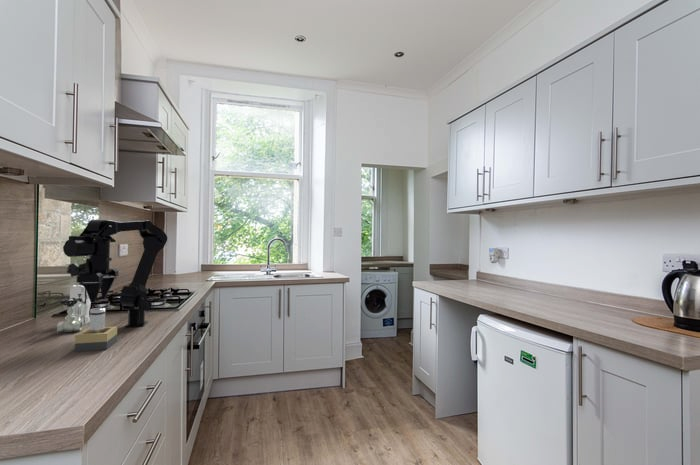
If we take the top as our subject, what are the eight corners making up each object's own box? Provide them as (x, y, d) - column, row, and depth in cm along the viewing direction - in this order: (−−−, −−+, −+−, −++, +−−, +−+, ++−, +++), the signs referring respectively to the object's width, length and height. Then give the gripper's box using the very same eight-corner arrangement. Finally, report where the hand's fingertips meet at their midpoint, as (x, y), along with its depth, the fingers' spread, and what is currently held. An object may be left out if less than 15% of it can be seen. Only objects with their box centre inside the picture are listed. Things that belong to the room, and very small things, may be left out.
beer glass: (65, 323, 133) (66, 286, 133) (86, 320, 139) (86, 284, 139) (74, 326, 130) (75, 287, 130) (94, 322, 136) (95, 285, 136)
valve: (62, 330, 124) (63, 298, 125) (84, 328, 127) (84, 297, 127) (54, 335, 118) (55, 301, 118) (77, 333, 121) (78, 300, 121)
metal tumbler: (89, 345, 108) (90, 308, 108) (105, 343, 111) (106, 307, 111) (88, 349, 105) (89, 310, 105) (104, 346, 107) (105, 309, 107)
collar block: (87, 343, 111) (87, 328, 111) (116, 341, 113) (117, 326, 113) (74, 351, 102) (75, 335, 103) (106, 349, 105) (107, 333, 105)
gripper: (84, 253, 124) (83, 295, 124) (57, 257, 107) (56, 306, 106) (119, 253, 128) (118, 294, 128) (98, 257, 110) (97, 304, 110)
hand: (98, 299), depth 118 cm, fingers open, 9 cm apart
